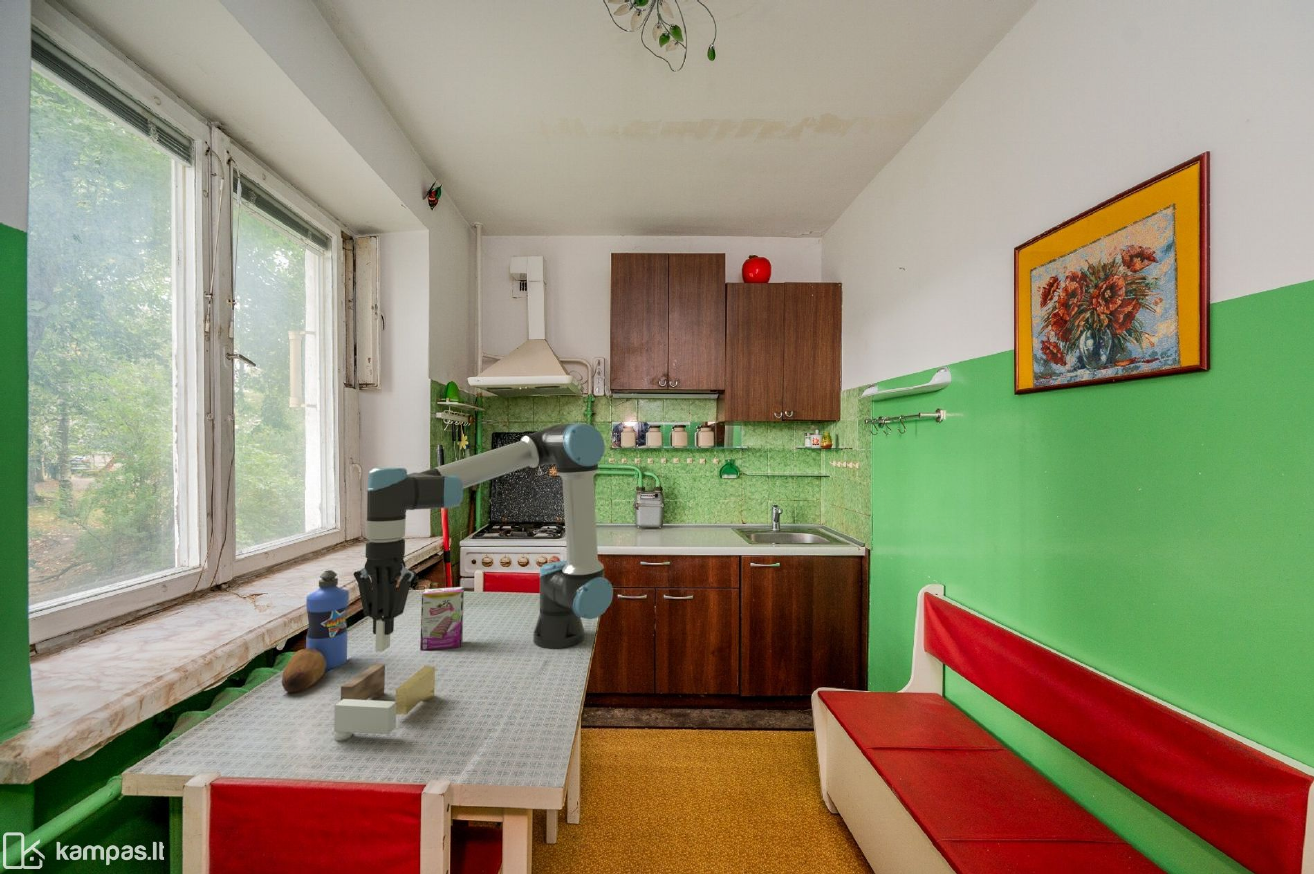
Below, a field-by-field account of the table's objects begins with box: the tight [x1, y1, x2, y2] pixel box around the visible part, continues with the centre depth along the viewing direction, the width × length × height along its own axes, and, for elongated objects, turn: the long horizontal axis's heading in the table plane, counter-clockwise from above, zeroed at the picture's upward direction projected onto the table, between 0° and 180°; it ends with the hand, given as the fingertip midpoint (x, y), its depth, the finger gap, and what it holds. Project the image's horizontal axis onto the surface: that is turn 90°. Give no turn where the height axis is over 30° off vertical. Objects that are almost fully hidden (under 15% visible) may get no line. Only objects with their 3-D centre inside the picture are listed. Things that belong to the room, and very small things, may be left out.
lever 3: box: [394, 665, 436, 715], centre depth 109 cm, size 12×3×7 cm, turn 175°
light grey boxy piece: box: [333, 699, 397, 742], centre depth 97 cm, size 12×3×7 cm, turn 85°
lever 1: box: [340, 663, 386, 701], centre depth 110 cm, size 12×3×7 cm, turn 175°
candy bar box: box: [419, 586, 465, 652], centre depth 145 cm, size 11×5×16 cm, turn 108°
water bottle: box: [305, 570, 350, 675], centre depth 131 cm, size 9×9×25 cm
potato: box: [281, 647, 326, 694], centre depth 120 cm, size 8×14×8 cm
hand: (382, 648), depth 108 cm, fingers closed
